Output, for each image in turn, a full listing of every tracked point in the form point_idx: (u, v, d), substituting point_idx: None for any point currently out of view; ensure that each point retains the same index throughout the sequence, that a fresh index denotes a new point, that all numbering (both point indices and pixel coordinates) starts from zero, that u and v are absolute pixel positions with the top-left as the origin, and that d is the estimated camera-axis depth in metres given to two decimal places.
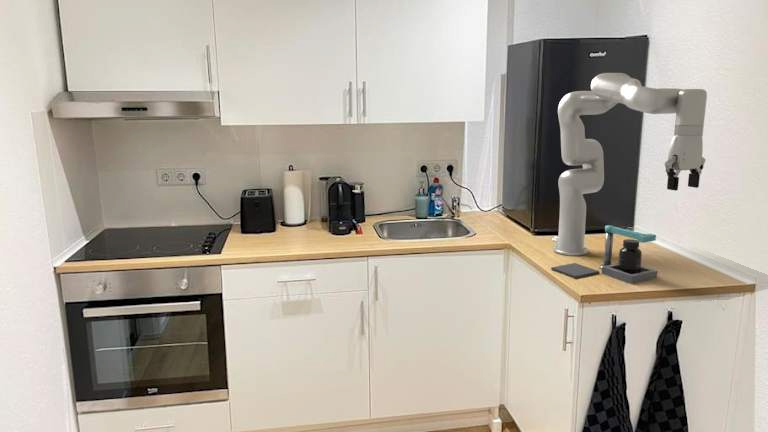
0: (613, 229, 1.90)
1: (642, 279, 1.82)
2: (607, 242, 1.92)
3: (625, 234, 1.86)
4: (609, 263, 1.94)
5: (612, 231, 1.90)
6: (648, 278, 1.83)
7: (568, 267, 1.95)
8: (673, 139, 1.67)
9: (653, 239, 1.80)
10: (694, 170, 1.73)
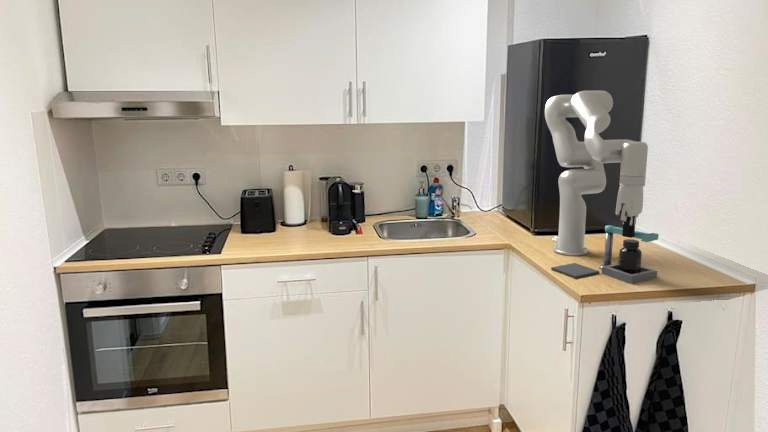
0: (614, 229, 1.90)
1: (642, 279, 1.82)
2: (607, 242, 1.92)
3: None
4: (609, 263, 1.94)
5: (613, 231, 1.90)
6: (648, 278, 1.83)
7: (568, 267, 1.95)
8: (621, 188, 1.79)
9: (656, 238, 1.81)
10: None
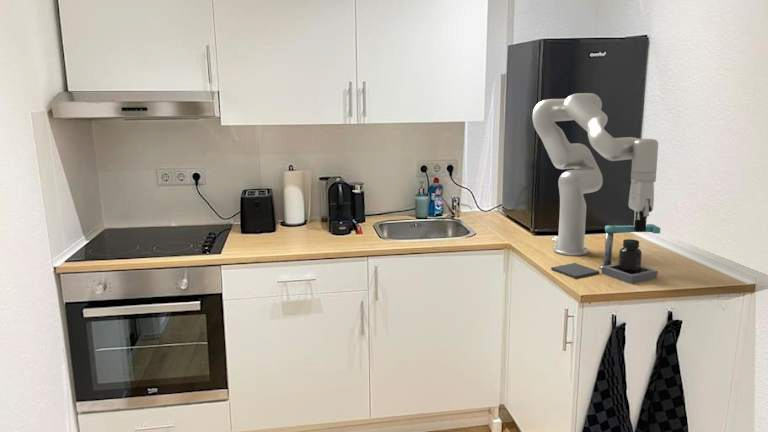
0: (618, 228, 1.91)
1: (642, 279, 1.82)
2: (607, 242, 1.92)
3: (632, 230, 1.91)
4: (609, 263, 1.94)
5: (616, 230, 1.91)
6: (648, 278, 1.83)
7: (568, 267, 1.95)
8: (643, 185, 1.82)
9: None
10: None
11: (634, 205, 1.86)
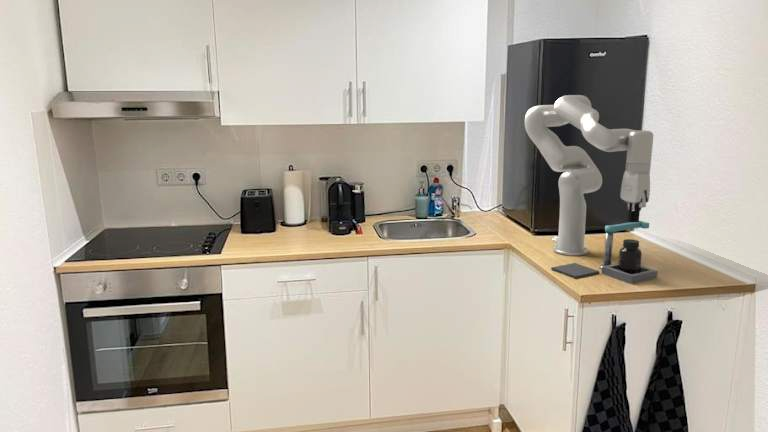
0: (617, 227, 1.92)
1: (642, 279, 1.82)
2: (607, 242, 1.92)
3: (627, 227, 1.95)
4: (609, 263, 1.94)
5: (616, 229, 1.92)
6: (648, 278, 1.83)
7: (568, 267, 1.95)
8: (641, 176, 1.84)
9: None
10: (632, 206, 1.92)
11: (630, 196, 1.88)
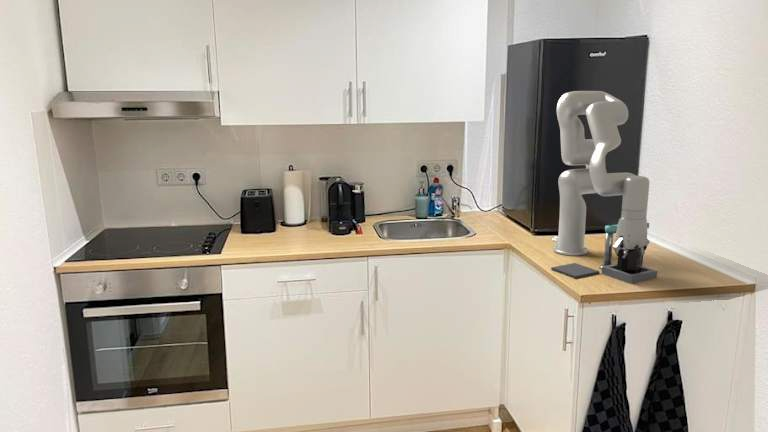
0: None
1: (642, 279, 1.82)
2: (607, 242, 1.92)
3: None
4: (609, 263, 1.94)
5: (616, 229, 1.92)
6: (648, 278, 1.83)
7: (568, 267, 1.95)
8: (619, 221, 1.83)
9: None
10: None
11: None
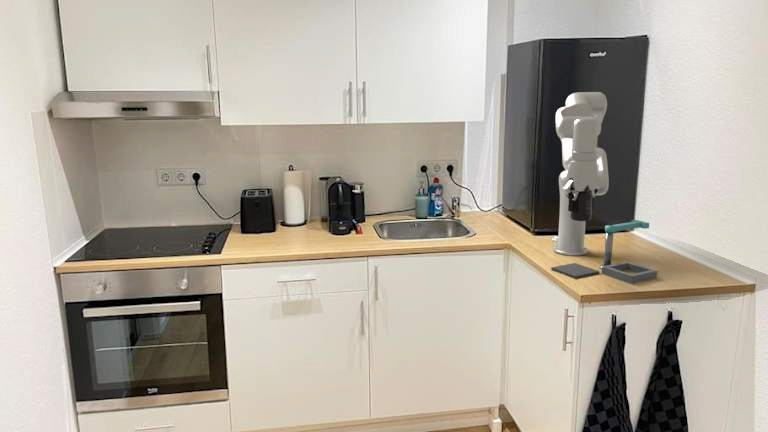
0: (617, 227, 1.92)
1: (642, 279, 1.82)
2: (607, 242, 1.92)
3: (627, 227, 1.95)
4: (609, 263, 1.94)
5: (616, 229, 1.92)
6: (648, 278, 1.83)
7: (568, 267, 1.95)
8: (570, 164, 1.84)
9: None
10: None
11: None
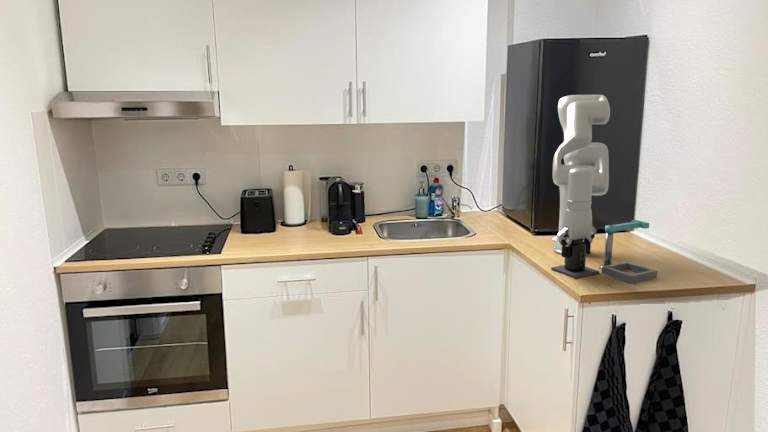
0: (617, 227, 1.92)
1: (642, 279, 1.82)
2: (607, 242, 1.92)
3: (627, 227, 1.95)
4: (609, 263, 1.94)
5: (616, 229, 1.92)
6: (648, 278, 1.83)
7: None
8: (565, 212, 1.87)
9: None
10: (586, 239, 1.93)
11: None
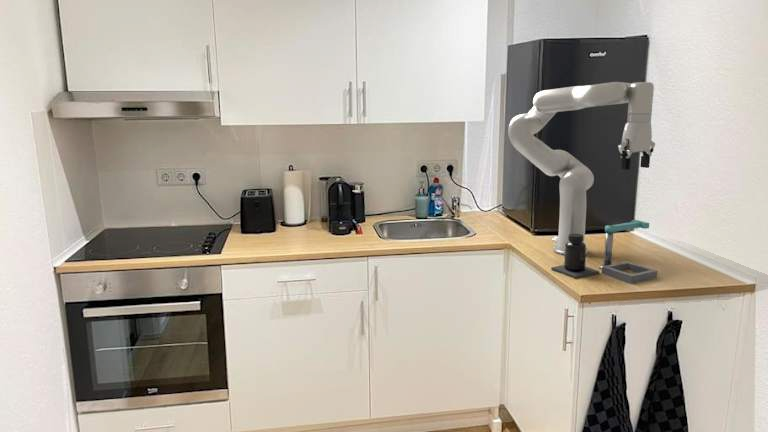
0: (617, 227, 1.92)
1: (642, 279, 1.82)
2: (607, 242, 1.92)
3: (627, 227, 1.95)
4: (609, 263, 1.94)
5: (616, 229, 1.92)
6: (648, 278, 1.83)
7: None
8: (626, 125, 1.94)
9: None
10: (645, 153, 2.00)
11: None
